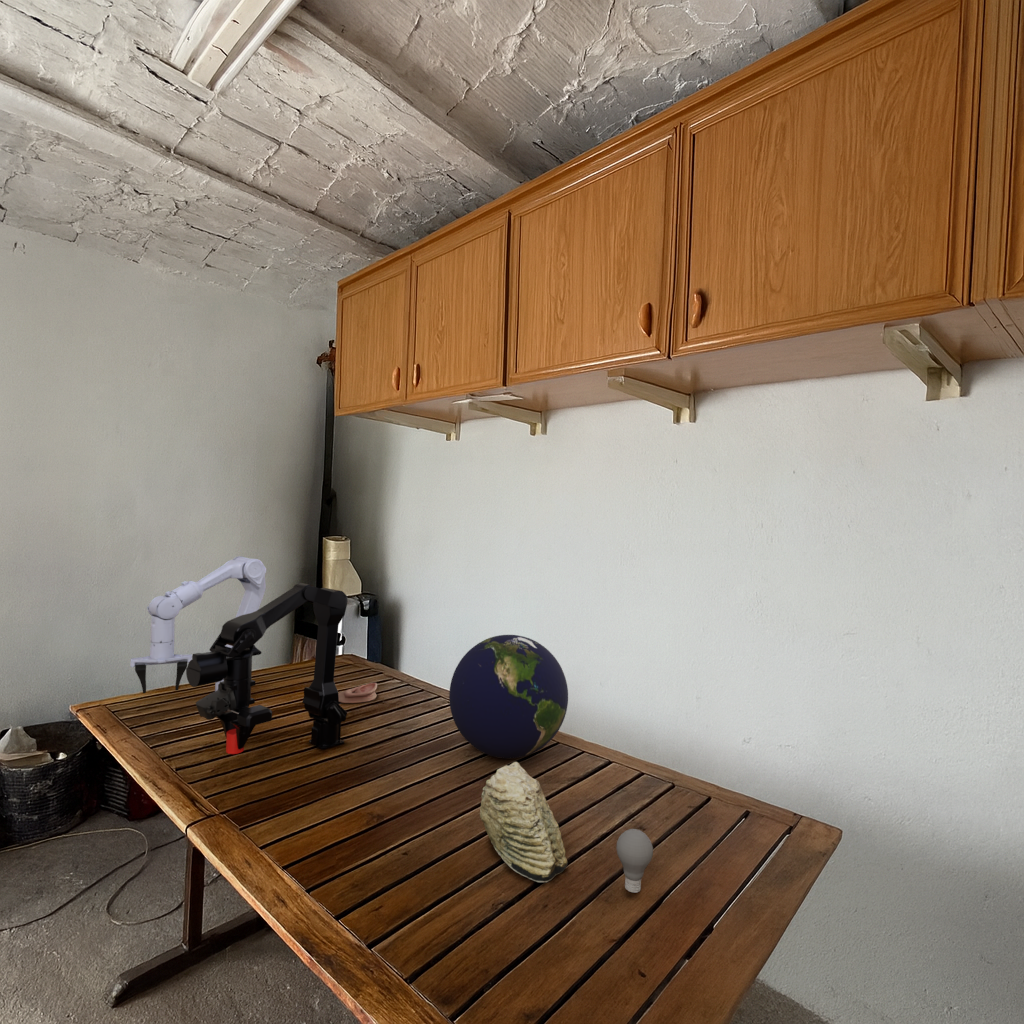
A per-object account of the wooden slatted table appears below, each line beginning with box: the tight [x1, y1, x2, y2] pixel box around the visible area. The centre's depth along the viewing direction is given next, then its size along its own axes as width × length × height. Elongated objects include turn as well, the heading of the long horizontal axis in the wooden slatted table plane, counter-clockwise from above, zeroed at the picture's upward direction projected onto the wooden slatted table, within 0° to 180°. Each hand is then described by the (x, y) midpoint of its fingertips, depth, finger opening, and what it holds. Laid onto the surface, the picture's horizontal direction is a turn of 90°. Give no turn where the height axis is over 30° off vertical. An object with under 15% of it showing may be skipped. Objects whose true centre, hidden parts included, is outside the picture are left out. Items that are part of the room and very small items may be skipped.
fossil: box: [479, 761, 569, 883], centre depth 114 cm, size 9×18×15 cm, turn 46°
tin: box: [225, 729, 245, 755], centre depth 142 cm, size 4×4×4 cm
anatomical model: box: [338, 682, 378, 704], centre depth 199 cm, size 13×4×12 cm
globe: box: [448, 634, 569, 760], centre depth 160 cm, size 30×30×30 cm
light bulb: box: [615, 828, 654, 894], centre depth 106 cm, size 6×6×10 cm
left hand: (160, 690), depth 172 cm, fingers open, 7 cm apart
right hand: (235, 746), depth 142 cm, fingers closed on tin, 4 cm apart
